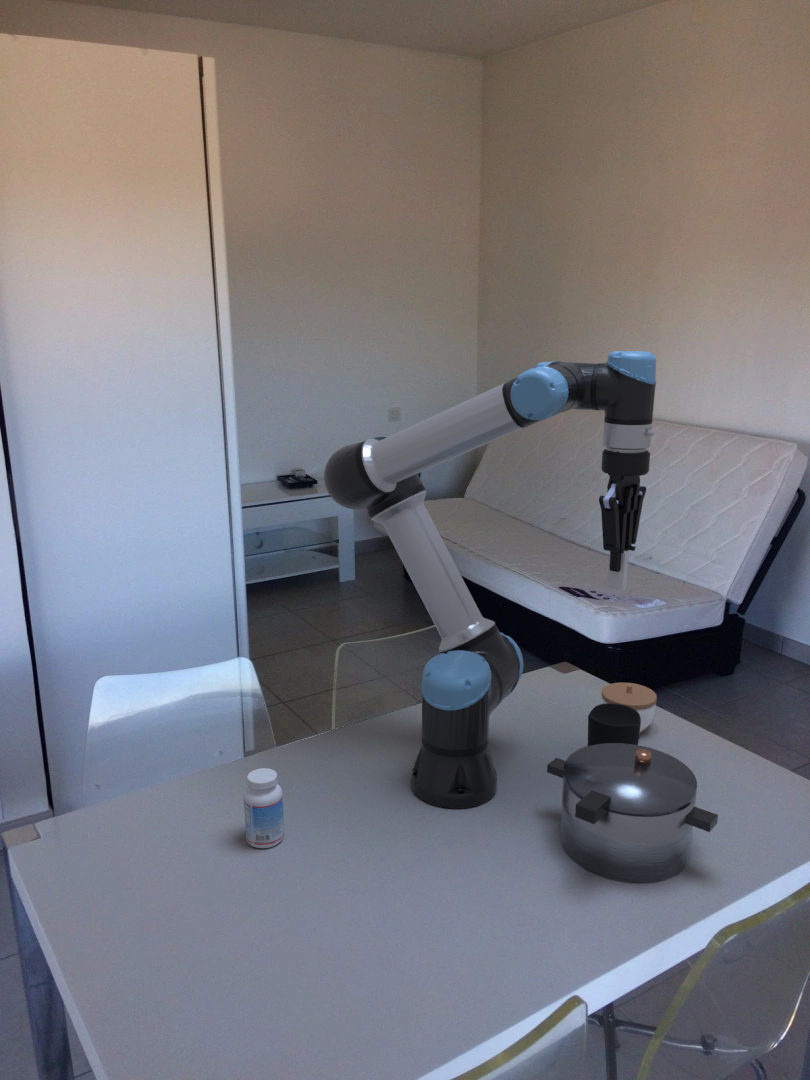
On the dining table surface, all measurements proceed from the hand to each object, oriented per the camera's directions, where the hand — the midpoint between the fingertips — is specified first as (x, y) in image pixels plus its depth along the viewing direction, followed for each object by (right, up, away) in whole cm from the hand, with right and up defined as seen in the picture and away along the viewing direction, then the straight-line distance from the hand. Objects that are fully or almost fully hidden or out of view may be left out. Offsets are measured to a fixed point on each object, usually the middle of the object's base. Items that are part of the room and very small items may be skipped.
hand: (616, 588), depth 148 cm
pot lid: (-2, -30, -13) cm, 33 cm away
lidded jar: (+9, -30, +29) cm, 43 cm away
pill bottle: (-58, -40, -8) cm, 71 cm away
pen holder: (+3, -34, +16) cm, 37 cm away
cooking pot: (-1, -40, -9) cm, 41 cm away
